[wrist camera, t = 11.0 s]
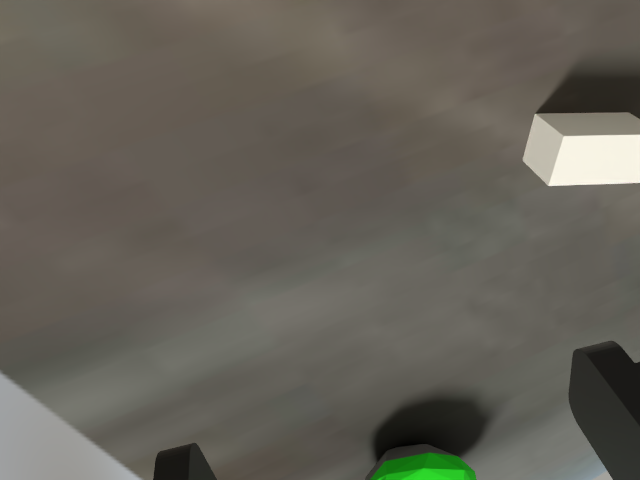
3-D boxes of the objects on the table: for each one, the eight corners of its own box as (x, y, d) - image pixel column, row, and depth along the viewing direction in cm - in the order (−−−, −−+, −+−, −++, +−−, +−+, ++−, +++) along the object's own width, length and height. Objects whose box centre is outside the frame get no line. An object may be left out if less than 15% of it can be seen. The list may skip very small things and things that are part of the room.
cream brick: (521, 159, 39) (548, 185, 36) (534, 112, 38) (563, 136, 34) (610, 157, 40) (644, 182, 37) (627, 111, 38) (664, 134, 35)
